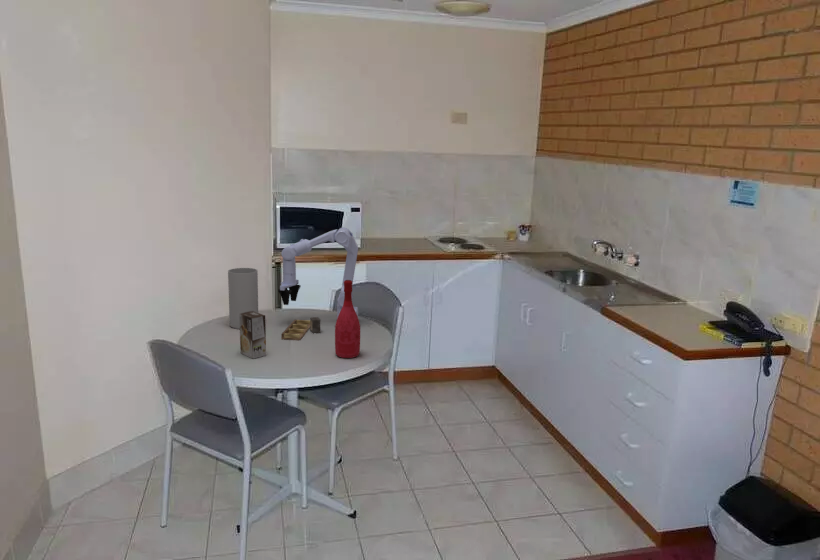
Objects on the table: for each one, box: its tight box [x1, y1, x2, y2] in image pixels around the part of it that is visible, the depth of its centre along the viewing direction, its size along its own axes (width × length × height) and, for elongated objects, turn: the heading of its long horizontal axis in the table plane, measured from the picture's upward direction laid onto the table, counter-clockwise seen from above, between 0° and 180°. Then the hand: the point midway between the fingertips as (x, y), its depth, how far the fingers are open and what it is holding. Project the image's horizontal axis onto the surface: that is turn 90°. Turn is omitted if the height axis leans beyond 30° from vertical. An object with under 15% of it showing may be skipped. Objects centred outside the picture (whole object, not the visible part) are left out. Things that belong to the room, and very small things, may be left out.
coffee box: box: [239, 311, 267, 359], centre depth 242 cm, size 9×6×16 cm
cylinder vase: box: [227, 267, 259, 330], centre depth 278 cm, size 12×12×25 cm
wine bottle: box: [334, 280, 361, 359], centre depth 243 cm, size 10×10×30 cm
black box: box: [309, 316, 321, 335], centre depth 274 cm, size 4×5×6 cm
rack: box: [280, 319, 310, 341], centre depth 273 cm, size 8×22×2 cm, turn 176°
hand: (289, 302), depth 283 cm, fingers open, 7 cm apart
